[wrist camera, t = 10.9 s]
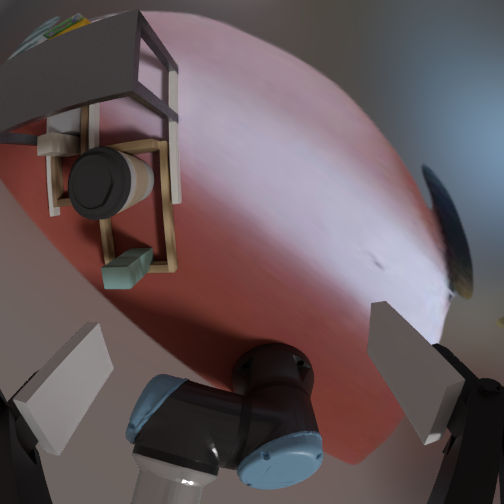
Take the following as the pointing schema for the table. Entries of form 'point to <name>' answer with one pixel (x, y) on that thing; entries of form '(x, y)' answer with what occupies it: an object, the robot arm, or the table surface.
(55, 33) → the crayon box
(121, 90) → the shelf
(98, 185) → the coffee cup
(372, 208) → the table surface
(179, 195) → the lane rails
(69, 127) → the grey block
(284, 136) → the table surface
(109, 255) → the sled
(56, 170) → the sled
